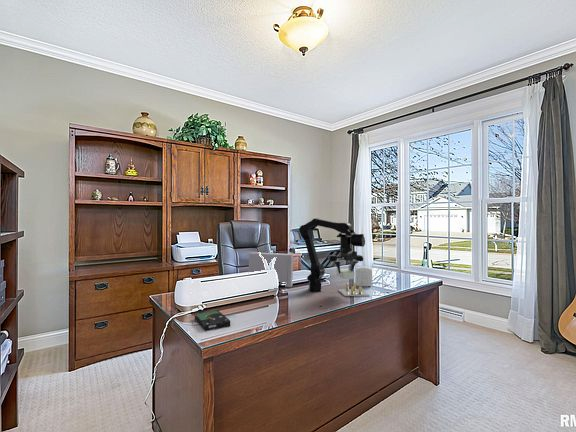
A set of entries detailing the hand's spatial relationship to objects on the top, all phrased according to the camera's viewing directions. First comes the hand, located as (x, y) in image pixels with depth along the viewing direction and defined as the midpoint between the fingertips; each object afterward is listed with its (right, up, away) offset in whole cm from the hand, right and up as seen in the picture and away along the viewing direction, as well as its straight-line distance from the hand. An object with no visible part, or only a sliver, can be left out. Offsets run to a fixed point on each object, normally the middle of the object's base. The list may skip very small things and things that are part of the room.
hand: (345, 273), depth 165 cm
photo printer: (+16, -13, +24) cm, 32 cm away
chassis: (+6, -12, +4) cm, 14 cm away
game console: (-43, -12, +22) cm, 49 cm away
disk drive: (-62, -12, -45) cm, 78 cm away
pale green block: (0, -2, 0) cm, 2 cm away
